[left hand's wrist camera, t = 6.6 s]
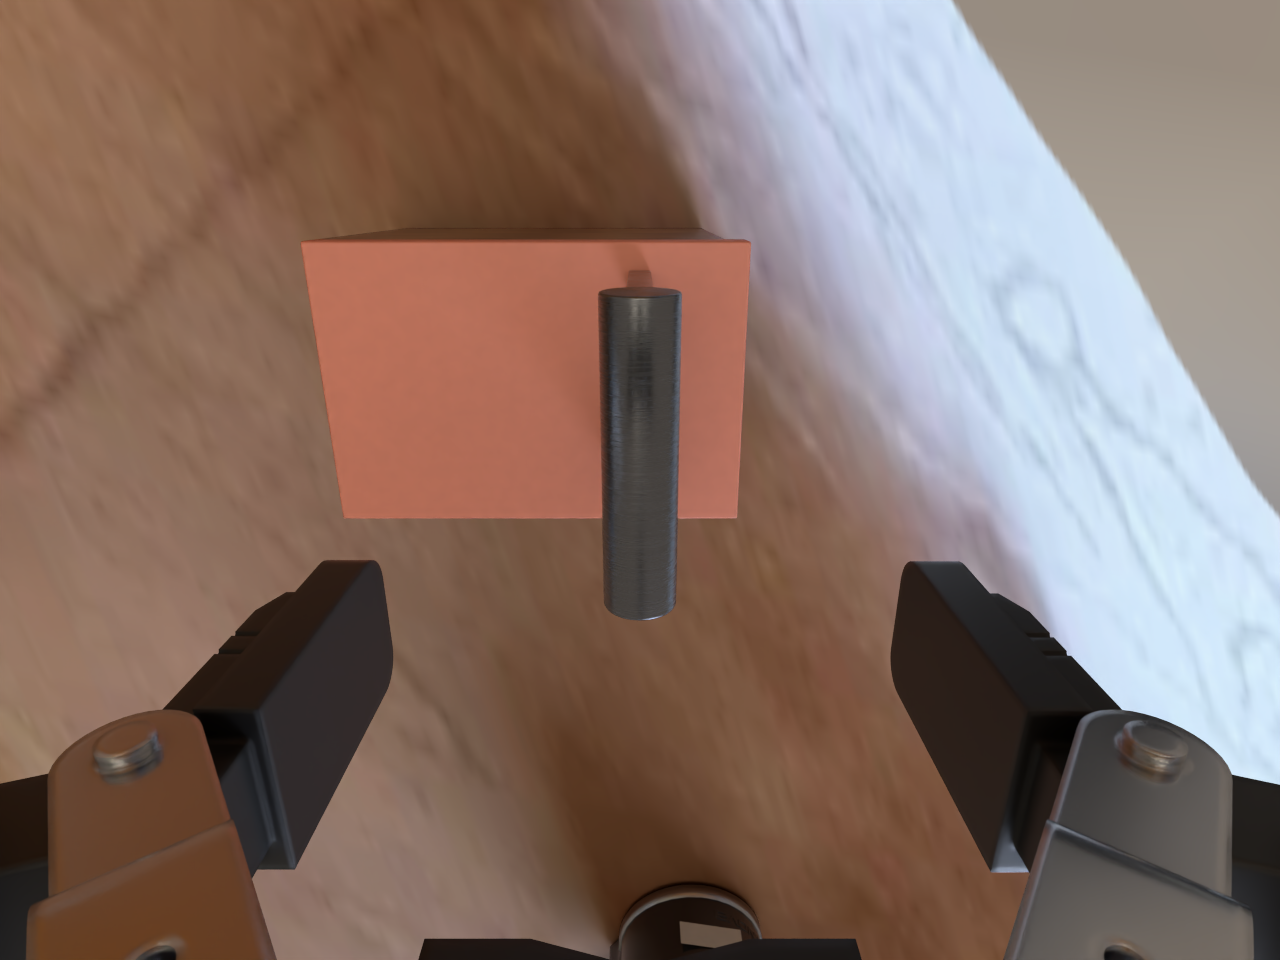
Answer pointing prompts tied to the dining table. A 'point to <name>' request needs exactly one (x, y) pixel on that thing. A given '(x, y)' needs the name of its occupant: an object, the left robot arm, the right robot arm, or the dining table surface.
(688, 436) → the lid
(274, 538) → the dining table surface
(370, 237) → the chest
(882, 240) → the dining table surface
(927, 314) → the dining table surface
